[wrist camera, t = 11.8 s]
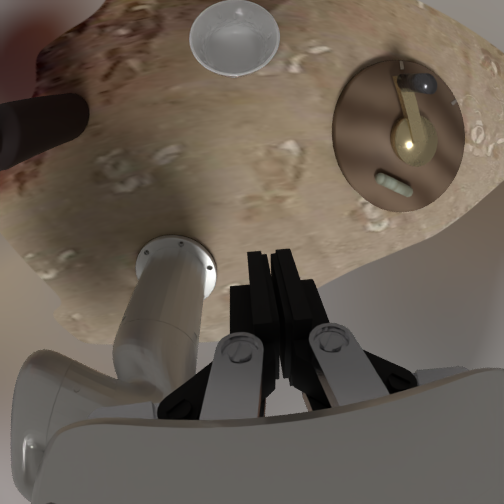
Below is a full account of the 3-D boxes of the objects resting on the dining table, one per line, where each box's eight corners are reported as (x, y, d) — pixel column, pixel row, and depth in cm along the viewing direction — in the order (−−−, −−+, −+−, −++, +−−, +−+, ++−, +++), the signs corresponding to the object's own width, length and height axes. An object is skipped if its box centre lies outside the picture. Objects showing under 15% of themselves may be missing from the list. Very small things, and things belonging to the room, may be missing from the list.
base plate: (424, 224, 41) (435, 234, 38) (308, 178, 37) (315, 187, 34) (471, 108, 31) (486, 112, 28) (361, 33, 27) (373, 29, 23)
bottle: (80, 146, 32) (-19, 201, 15) (46, 131, 30) (-56, 176, 13) (97, 101, 29) (-9, 123, 12) (61, 87, 27) (-47, 106, 10)
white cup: (251, 15, 26) (256, -12, 17) (278, 67, 29) (294, 56, 21) (191, 41, 27) (175, 22, 18) (218, 92, 31) (212, 90, 22)
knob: (434, 156, 33) (465, 171, 27) (396, 169, 34) (425, 187, 28) (414, 69, 27) (447, 70, 21) (371, 78, 28) (401, 78, 22)
